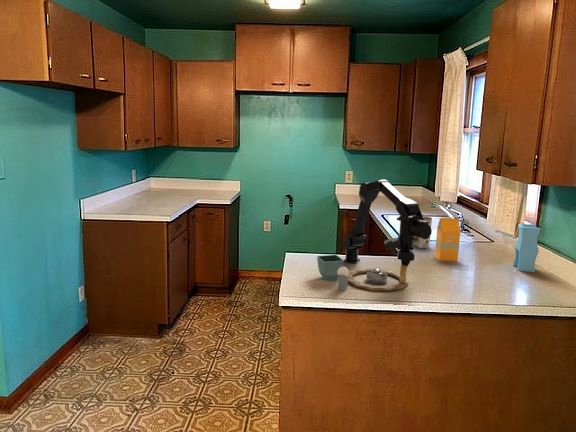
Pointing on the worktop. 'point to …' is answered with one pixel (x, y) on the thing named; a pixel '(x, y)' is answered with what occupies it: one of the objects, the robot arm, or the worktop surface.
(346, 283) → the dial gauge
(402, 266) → the brown ring with post
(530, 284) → the worktop surface
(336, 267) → the flower pot
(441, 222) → the orange juice
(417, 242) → the coffee box
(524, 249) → the vase
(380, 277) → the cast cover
